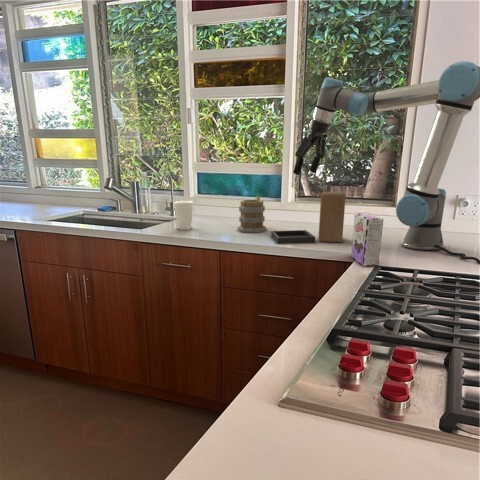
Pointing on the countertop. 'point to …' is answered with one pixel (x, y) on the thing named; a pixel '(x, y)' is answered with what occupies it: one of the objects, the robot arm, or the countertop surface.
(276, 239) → the dark grey square tray
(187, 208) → the foam cup
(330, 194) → the block
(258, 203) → the tankard
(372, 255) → the candy box
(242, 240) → the countertop surface
